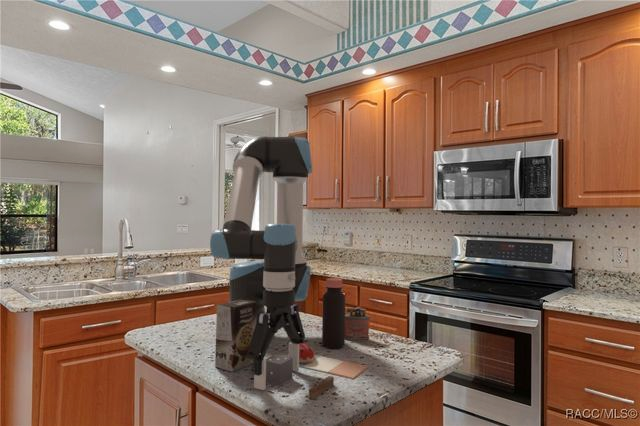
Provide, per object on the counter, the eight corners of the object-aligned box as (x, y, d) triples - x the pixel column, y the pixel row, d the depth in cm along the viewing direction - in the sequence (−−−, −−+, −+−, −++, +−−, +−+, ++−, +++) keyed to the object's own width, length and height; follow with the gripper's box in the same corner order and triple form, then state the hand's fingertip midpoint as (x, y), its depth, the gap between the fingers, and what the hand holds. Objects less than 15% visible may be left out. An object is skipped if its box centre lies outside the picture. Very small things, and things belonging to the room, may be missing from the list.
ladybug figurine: (305, 351, 118) (305, 339, 118) (321, 362, 109) (321, 349, 109) (283, 355, 115) (283, 342, 115) (298, 366, 106) (298, 352, 106)
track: (281, 362, 110) (281, 361, 110) (299, 352, 118) (299, 351, 118) (353, 378, 100) (353, 377, 100) (368, 367, 107) (368, 366, 107)
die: (262, 381, 97) (262, 359, 97) (275, 374, 102) (275, 353, 102) (280, 386, 95) (280, 364, 95) (292, 378, 99) (292, 357, 99)
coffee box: (232, 372, 102) (234, 307, 102) (214, 367, 106) (215, 303, 106) (257, 362, 110) (258, 301, 110) (239, 357, 114) (240, 298, 114)
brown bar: (308, 397, 89) (309, 389, 89) (329, 383, 97) (329, 375, 97) (313, 399, 88) (313, 390, 88) (333, 384, 96) (333, 376, 96)
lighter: (368, 338, 133) (369, 307, 133) (369, 341, 130) (369, 309, 130) (343, 337, 134) (344, 306, 134) (343, 340, 131) (343, 308, 131)
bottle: (322, 342, 128) (323, 277, 128) (344, 342, 128) (345, 277, 128) (321, 349, 122) (322, 280, 122) (344, 349, 121) (345, 281, 122)
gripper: (259, 298, 86) (257, 401, 85) (319, 283, 107) (317, 365, 107) (231, 294, 90) (229, 393, 89) (294, 280, 111) (293, 360, 111)
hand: (277, 378), depth 98 cm, fingers open, 13 cm apart
